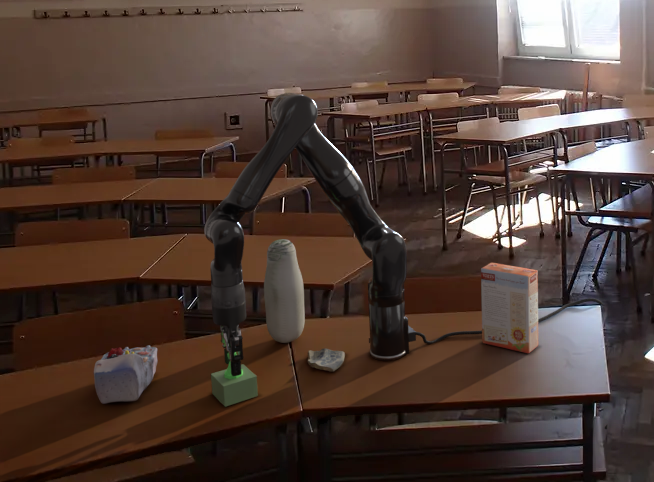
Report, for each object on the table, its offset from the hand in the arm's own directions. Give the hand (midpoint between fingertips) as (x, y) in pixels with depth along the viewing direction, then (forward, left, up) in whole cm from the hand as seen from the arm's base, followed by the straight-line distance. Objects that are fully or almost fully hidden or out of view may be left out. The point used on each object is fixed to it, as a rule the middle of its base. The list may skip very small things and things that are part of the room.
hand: (233, 368), depth 193 cm
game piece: (0, 0, -2) cm, 2 cm away
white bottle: (-19, -24, -7) cm, 31 cm away
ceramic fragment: (-23, -6, -7) cm, 25 cm away
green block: (0, 0, -6) cm, 6 cm away
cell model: (+22, -16, -7) cm, 28 cm away
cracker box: (-70, +8, -7) cm, 71 cm away
